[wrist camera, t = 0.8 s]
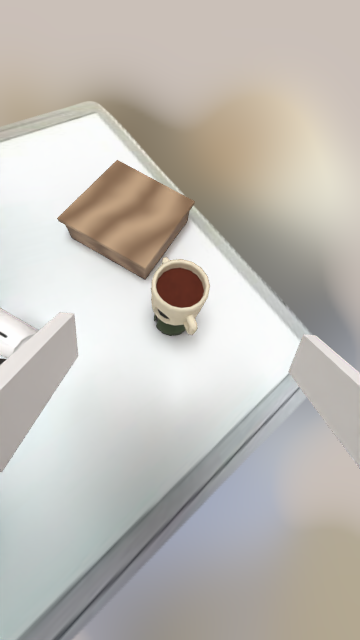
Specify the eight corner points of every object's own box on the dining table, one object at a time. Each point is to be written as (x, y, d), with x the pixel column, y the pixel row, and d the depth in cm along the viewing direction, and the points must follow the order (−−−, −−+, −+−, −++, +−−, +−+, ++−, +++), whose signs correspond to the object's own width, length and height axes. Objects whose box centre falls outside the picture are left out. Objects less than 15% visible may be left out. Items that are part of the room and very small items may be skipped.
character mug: (142, 297, 40) (138, 254, 27) (179, 286, 41) (191, 240, 29) (163, 355, 37) (169, 335, 25) (202, 340, 38) (226, 315, 26)
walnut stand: (67, 238, 42) (57, 218, 37) (120, 183, 47) (117, 159, 43) (146, 282, 41) (145, 268, 36) (190, 221, 46) (194, 201, 42)
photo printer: (-2, 340, 35) (-80, 312, 23) (18, 318, 36) (-45, 280, 24) (53, 374, 34) (2, 363, 22) (72, 350, 35) (33, 328, 24)
